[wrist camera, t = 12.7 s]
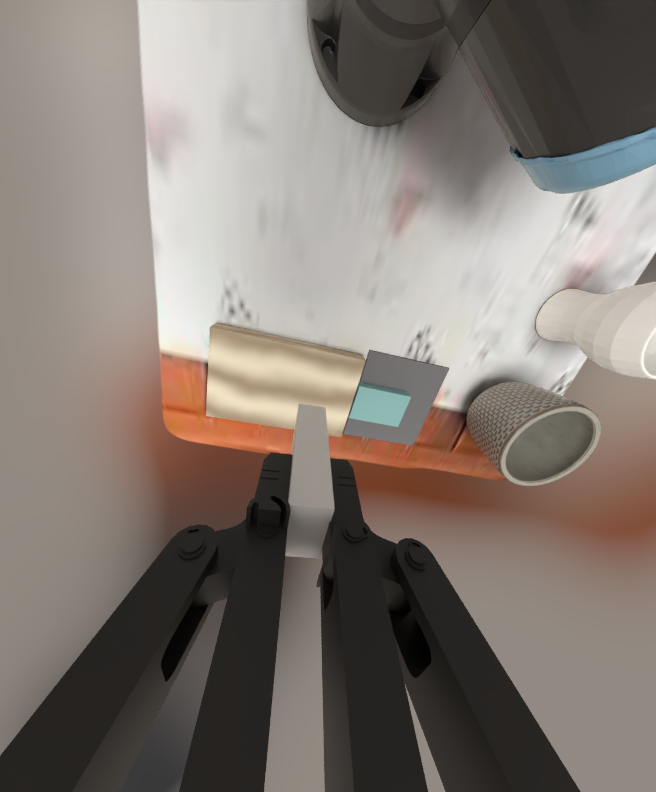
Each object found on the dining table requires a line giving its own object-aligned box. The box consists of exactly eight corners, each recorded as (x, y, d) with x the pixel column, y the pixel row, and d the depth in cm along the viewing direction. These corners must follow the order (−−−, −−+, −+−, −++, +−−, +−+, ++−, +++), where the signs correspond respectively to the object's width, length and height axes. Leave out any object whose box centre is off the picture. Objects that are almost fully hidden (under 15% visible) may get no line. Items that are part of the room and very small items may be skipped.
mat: (369, 350, 40) (370, 350, 39) (448, 367, 42) (449, 368, 42) (342, 432, 46) (343, 434, 46) (412, 444, 49) (412, 445, 48)
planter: (498, 353, 42) (572, 385, 30) (541, 397, 46) (619, 439, 35) (436, 412, 46) (479, 460, 34) (481, 447, 51) (532, 499, 39)
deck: (217, 322, 36) (210, 326, 33) (361, 354, 40) (365, 360, 37) (212, 406, 42) (206, 415, 39) (339, 427, 46) (341, 437, 43)
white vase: (556, 358, 43) (670, 397, 30) (512, 332, 40) (615, 362, 27) (609, 298, 39) (767, 312, 26) (563, 264, 36) (714, 260, 23)
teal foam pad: (347, 412, 44) (348, 418, 42) (357, 381, 42) (359, 386, 40) (394, 421, 46) (398, 427, 44) (406, 391, 43) (411, 396, 41)
